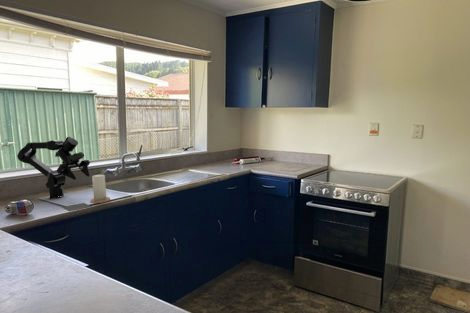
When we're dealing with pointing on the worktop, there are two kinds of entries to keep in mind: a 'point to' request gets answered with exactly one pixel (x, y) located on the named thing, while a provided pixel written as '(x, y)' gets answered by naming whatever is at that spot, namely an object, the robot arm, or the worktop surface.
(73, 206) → the rubber mat
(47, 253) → the worktop surface
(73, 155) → the robot arm
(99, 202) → the saucer
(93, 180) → the tumbler
